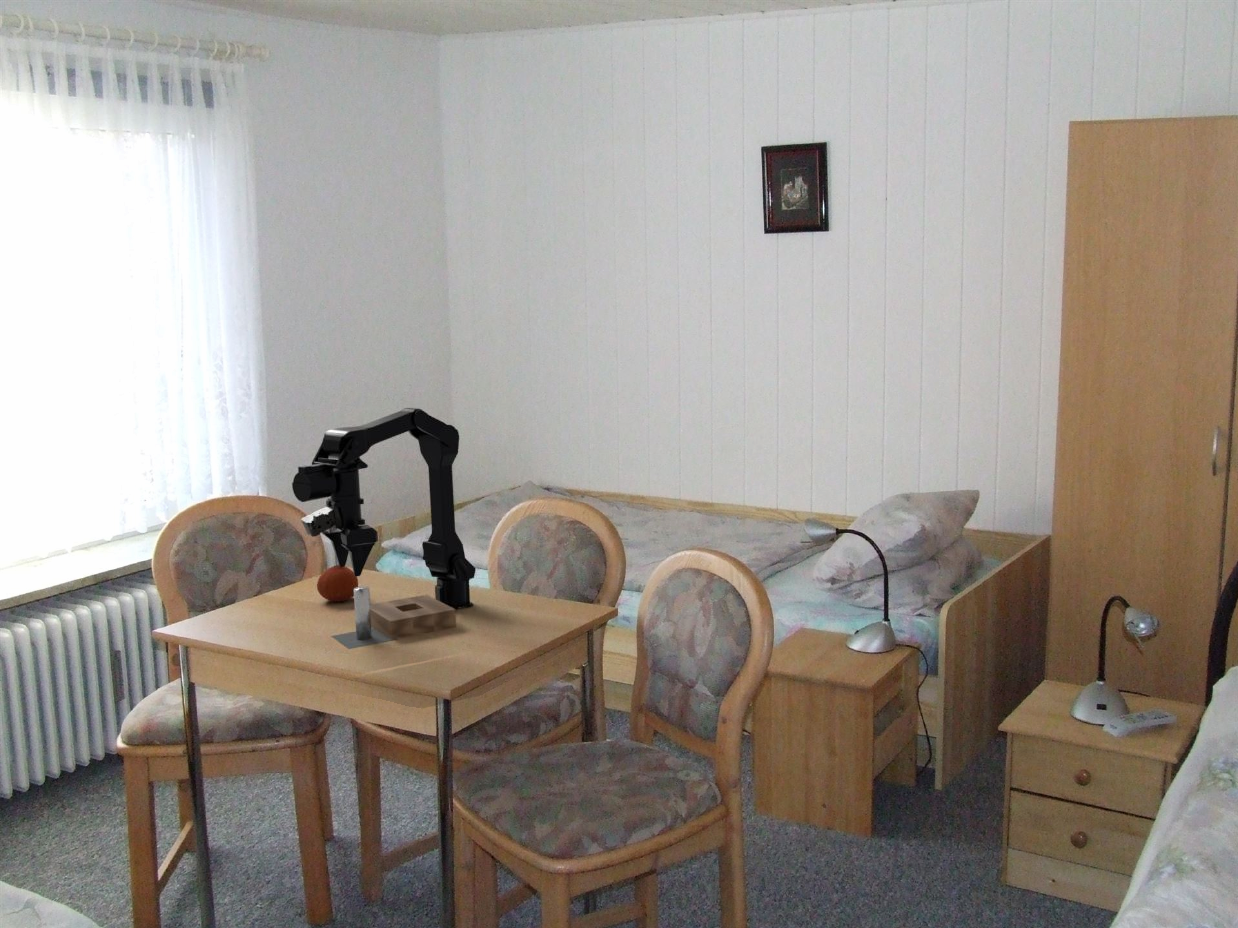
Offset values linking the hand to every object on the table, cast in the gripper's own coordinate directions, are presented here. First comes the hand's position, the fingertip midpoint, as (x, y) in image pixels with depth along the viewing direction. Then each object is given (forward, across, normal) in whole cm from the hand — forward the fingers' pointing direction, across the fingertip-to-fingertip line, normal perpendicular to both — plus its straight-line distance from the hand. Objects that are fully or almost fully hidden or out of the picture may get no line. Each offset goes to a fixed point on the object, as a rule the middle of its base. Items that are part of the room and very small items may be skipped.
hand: (349, 571), depth 246 cm
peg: (+13, +3, +1) cm, 13 cm away
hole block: (+13, 0, +12) cm, 18 cm away
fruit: (+14, -28, +6) cm, 32 cm away
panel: (+13, +3, +1) cm, 14 cm away
